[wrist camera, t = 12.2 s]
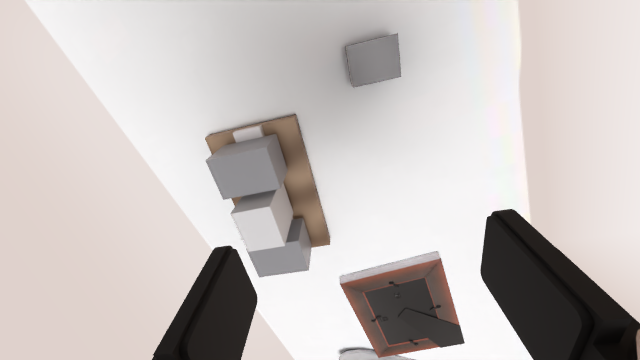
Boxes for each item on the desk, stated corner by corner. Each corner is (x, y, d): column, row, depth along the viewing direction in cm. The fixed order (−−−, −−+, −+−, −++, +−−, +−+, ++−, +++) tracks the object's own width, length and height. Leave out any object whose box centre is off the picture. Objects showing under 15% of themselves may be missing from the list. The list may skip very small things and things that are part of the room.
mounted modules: (223, 145, 33) (205, 160, 28) (276, 133, 32) (266, 147, 27) (267, 251, 40) (259, 277, 35) (311, 245, 39) (308, 270, 34)
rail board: (209, 134, 35) (201, 140, 32) (295, 114, 33) (292, 119, 31) (259, 249, 43) (255, 260, 41) (330, 238, 41) (329, 249, 39)
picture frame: (459, 330, 50) (435, 248, 42) (464, 343, 48) (441, 259, 40) (376, 346, 54) (339, 273, 45) (378, 359, 52) (339, 284, 43)
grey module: (247, 185, 35) (227, 214, 29) (281, 178, 34) (269, 206, 28) (260, 218, 37) (245, 252, 31) (293, 212, 37) (284, 246, 30)
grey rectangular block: (345, 46, 29) (346, 46, 26) (389, 35, 29) (397, 33, 25) (351, 83, 31) (353, 87, 28) (393, 73, 30) (401, 76, 27)
